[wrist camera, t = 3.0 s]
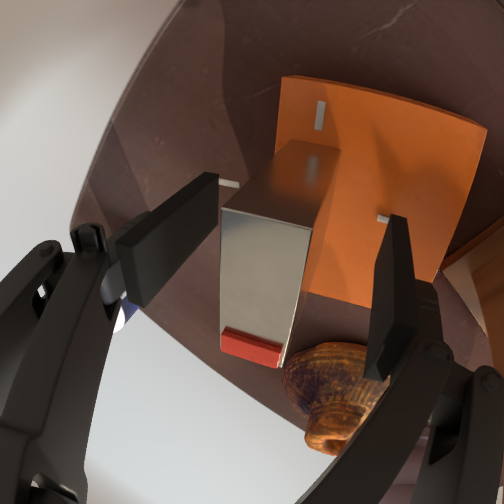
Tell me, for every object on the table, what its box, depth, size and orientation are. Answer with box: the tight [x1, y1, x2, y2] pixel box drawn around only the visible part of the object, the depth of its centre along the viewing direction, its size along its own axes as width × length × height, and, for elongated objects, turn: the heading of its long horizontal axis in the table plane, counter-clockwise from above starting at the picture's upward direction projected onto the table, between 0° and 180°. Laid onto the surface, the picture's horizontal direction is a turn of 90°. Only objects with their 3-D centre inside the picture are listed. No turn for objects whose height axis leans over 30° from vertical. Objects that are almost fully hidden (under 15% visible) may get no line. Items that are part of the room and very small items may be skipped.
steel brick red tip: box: [220, 139, 342, 369], centre depth 13 cm, size 6×2×8 cm, turn 176°
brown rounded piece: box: [282, 342, 390, 456], centre depth 25 cm, size 12×12×7 cm
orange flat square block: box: [219, 75, 487, 308], centre depth 17 cm, size 12×13×3 cm
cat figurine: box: [378, 427, 430, 504], centre depth 25 cm, size 9×8×12 cm
